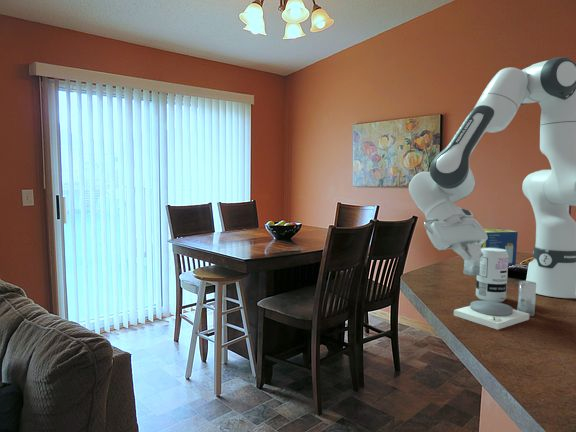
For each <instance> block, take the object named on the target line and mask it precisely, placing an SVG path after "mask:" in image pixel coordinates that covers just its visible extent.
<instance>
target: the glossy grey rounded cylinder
mask: <svg viewBox="0 0 576 432" xmlns="http://www.w3.org/2000/svg"><path fill="white" fill-rule="evenodd" d="M464 250H465V251H466V252H469V253H470V255H471V256H472V257H471V258H470V259H469V260H464V261H463V274H464V275H467V276H476V277H477V275H480V257H481V243H477V242H465V247H464Z"/></svg>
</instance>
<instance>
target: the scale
mask: <svg viewBox="0 0 576 432" xmlns="http://www.w3.org/2000/svg"><path fill="white" fill-rule="evenodd" d="M453 316H454V317H457V318H460V319H463V320H467V321H469V322H473V323H476V324H477V325H478V324H479V325H481V326H485V327H488V328H491V329H495V330H497V331H498V330H502V329H504V328H507V327H510V326H513V325H516V324H519V323H523V322H525V321H529V320H530V316H529V314H528V313H525V312H521V311H517V309H514V307H512V306H511V305H509V304H506V303H504V302H503V303H502V302H494V301H484V300H474V301H471V302H470V304H469V305H468V306H463V307H460V308H456V309H454V310H453Z"/></svg>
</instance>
